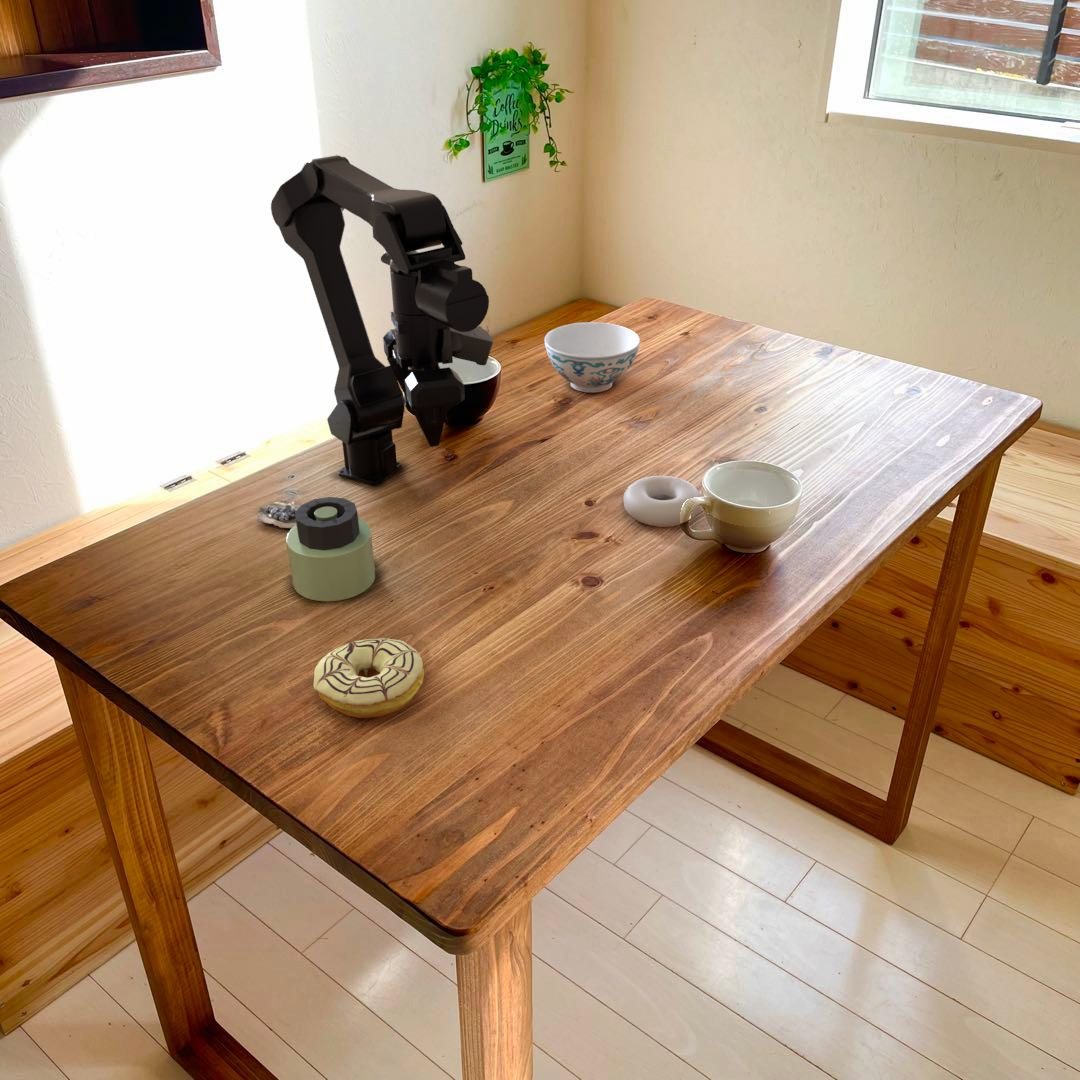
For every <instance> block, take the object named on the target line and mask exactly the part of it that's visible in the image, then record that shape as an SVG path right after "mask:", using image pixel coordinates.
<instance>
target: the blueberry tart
mask: <svg viewBox="0 0 1080 1080" xmlns="http://www.w3.org/2000/svg"><path fill="white" fill-rule="evenodd" d="M301 505H302V504H298V505H297V504H295V501H292V502H290V501H286V500H279V501H278V500H277V501H274V502H271V503H270V504H268V505H263V506H260V507H259V509H260V510H258V513H257V514H259V515H258V516H256V521H261V522H263V523H265V524H273V525H274V526H275V527H276V526H278V527H279V528H281V529H284V528H285V529H290V530H291V529H292V528H293V527H294V526H296V525H297V524H296V517H295V512H296V511H297V510H298V508H299V507H300V506H301Z"/></svg>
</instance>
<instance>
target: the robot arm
mask: <svg viewBox="0 0 1080 1080" xmlns="http://www.w3.org/2000/svg"><path fill="white" fill-rule="evenodd" d="M345 210H346V211H348V212H350V213H351V214H352V215H354V216H355V217H357V218H359V219H361V220H362V221H364V222H366V223H367V224H368V225H370V226H371V228H372V237H373V239H374V240H375V241H376V243H378V244H380V246H381V247H383V249H384V251H385V252H384V253H383V254H382V255H381V256H380V261H381V262H382V263H383V264H385V265H388V266H389V272H390V273H389V274H390V285H391V298H392V311H390V320H391V322H392V324H393V326H394V328H393V329H388V331H387V332H386V333H385V334H384V335H383V337H382V341H383V352H384V354H385V356H386V360H387V362H388V364H389V365H385V364H384V363H382V362H381V360H379V359H378V358H377V357H376V355H375V353H374V350H373V347H372V344H371V341H370V336H369V335H368V331H367V328H366V326H365V325H366V324H365V322H364V319H363V315H362V312H361V309H360V306H359V303H358V300H357V296H356V294H355V291H354V287H353V285H352V281H351V278H350V275H349V272H348V269H347V265H346V262H345V260H344V256H343V254H342V250H341V244H342V240H343V236H344V232H345V227H346V222H345V216H344V213H343V211H345ZM270 211H271V216H272V219H273V221H274V223H275V224H276V225H277V227H278V229H279V232H280V233H281V236H282V238H283V240H284V243H285V244H286V245H287V246H288V247H290V248H291V249H292V250H293V251H294V252H295V253H296V254H297V255H298V256H299V257H300V258H301V259H302V260H303V261H304V265H305V267H306V271H307V273H308V276H309V281H310V283H311V286H312V289H313V291H314V295H315V298H316V301H317V304H318V307H319V310H320V313H321V316H322V320H323V323H324V326H325V329H326V331H327V334H328V337H329V340H330V344H331V347H332V350H333V353H334V356H335V359H336V362H337V365H338V372H337V376H336V380H335V385H334V389H333V392H334V397H335V400H336V405H335V407H334V408H333V410H332V411H331V413H330V414H329V415H328V416H327V418H326V421H327V424H328V427H329V431H330V434H331V435H332V436H333V437H335V438H336V439H338V440H340V441H341V445H342V451H343V452H342V454H343V460H344V461H343V462H344V467H343V468H342V469H340V470H338V472H337V475H338V476H339V477H342V478H346V479H349V480H353V481H357V482H361V483H364V484H369V485H372V486H377V485H380V484H381V483H382V482H383V481H384V480H386V479H388V478H389V477H390V476H392V475H393V474H394V473H396V472H397V471H398V470H400V469H401V468H402V467H403V463H402V462H400V461H398V460H397V459H398V458H397V447H396V443H395V442H394V439H393V431H394V430H398V429H401V428H402V427H403V421H404V414H405V410H406V409H405V408H406V400H407V403H408V404H409V407H410V409H411V411H412V413H413V415H414V417H415V419H416V421H417V423H418V425H419V427H420V429H421V431H422V433H423V435H424V437H425V439H426V441H427V443H428V445H429V446H430V448H431V447H438V446H440V443H441V439H442V434H443V430H444V426H445V421H446V417H447V415H448V411H449V410H450V409H451V408H452V407H453V406H457V405H459V404H460V403H462V402H463V401H465V400H466V394H465V393H466V392H465V383H464V382H463V380H462V379H461V377H460V375H459V374H458V373H457V372H456V371H455V370H454V369H453V368H451V367H450V366H448V367H441V366H440V364H442V365H447V364H453V363H454V359H453V358H456V359H459V360H464V361H468V362H471V363H472V362H473V363H475V364H476V365H478V366H486V365H487V363H488V360H489V357H490V354H491V350H492V347H493V344H494V339H493V337H492V336H491V335H490V333H489V332H488V330H486V329H484V328H483V327H482V326H480V325H481V324H482V323H483V321H484V320H485V318H486V316H487V315H488V311H489V305H490V298H489V295H488V293H487V290H486V287H484V285H483V284H481V282H479V281H478V280H475V279H473V269H472V268H471V267H468V266H466V265H459V264H456V263H457V262H461V261H465V260H466V253H465V252H464V249H463V247H462V246H463V241H462V239H461V237H460V235H459V233H458V232H457V230H456V228H455V227H454V224H453V222H452V220H451V217H450V216H449V213H448V211H447V208H446V206H445V205H443V202H442V201H441V199H440V198H439V197H438V196H436V194H434V193H431V192H427V191H422V190H419V189H401V188H400V189H399V188H395V187H393V186H391V185H389V184H387V183H385V182H384V181H383V180H380V179H378V178H377V177H375V176H373V175H371V174H369V173H368V172H366V171H364V170H362V169H361V168H359V167H357V166H355V165H354V164H352V163H351V162H350V161H349V159H348V158H347V157H346V156H341V155H339V154H338V155H337V154H336V155H330V156H324V157H319V158H312V159H310V160H309V161H307V162H305V163H304V165H303V166H302V167H301V170H300V171H298V173H296V174H295V175H293V176H292V177H291V178H289V179H288V180H286V181H285V182H284V183H282V184H280V186H279V188H278V189H277V190H276V193H275V195H274V196H273V198H272V200H271V202H270ZM441 245H442V247H438V248H434V249H429V250H425V249H428V248H432V247H436V246H441ZM419 250H424V251H420V252H418V251H419Z"/></svg>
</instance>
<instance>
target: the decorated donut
mask: <svg viewBox="0 0 1080 1080" xmlns="http://www.w3.org/2000/svg"><path fill="white" fill-rule="evenodd" d="M424 669H425V668H424V665H423V659H422V656H421V654H420V653H419V652H418V651H417V650H416V649H415V648H414V647H412V646H411V645H409V644H408V643H407V642H405V641H403V640H400V639H392V638H388V637H376V638H364V639H358V640H354V641H352V642H348V643H346V644H343V645H341V646H339V647H337V648H335V649H333V650H331V651H330V652H328V653H327V654H326V655H325V656H323V657H322V658H321V659H320V661H318V663H317V664H316V666H315V668H314V673H313V674H314V675H313V689H314V691H315V692H317V695H318V696H319V698H320V700H321V701H323V702H324V703H325V704H326V705H328V706H329V707H330V708H331V709H333V710H335V711H337V712H338V713H341V714H344V715H346V716H348V717H352V718H357V719H370V718H377V717H378V718H379V717H383V716H386V715H390V714H392V713H395V712H398V711H400V710H401V709H403V708H404V707H405V706H407V705H408V704H409V703H410V702H411V701H412V700H413V698H414V697H415V695H416V694H417V693H418V692H419V691H420V687H421V686H422V685H423V683H424V676H425V670H424Z"/></svg>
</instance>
